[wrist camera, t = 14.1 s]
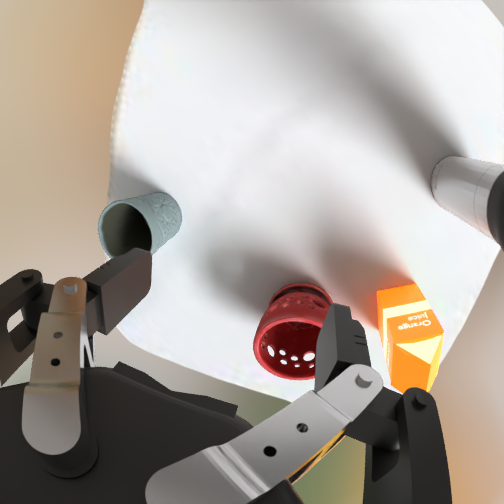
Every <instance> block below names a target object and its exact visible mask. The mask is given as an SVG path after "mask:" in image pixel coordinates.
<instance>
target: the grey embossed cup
mask: <svg viewBox="0 0 504 504" xmlns="http://www.w3.org/2000/svg"><path fill="white" fill-rule="evenodd" d="M181 222H182V213H181V210H180V207H179V205H178V203H177V202H176V201H175V200H174V199H173V198H172V197H171V196H170V195H168V194H165V193H152V194H149V195H145V196H140V197H135V198H128V199H124V200H119V201H115V202H113V203H111V204H110V205H108V206H107V207H106V208H105V209H104V210H103V212H102V213H101V216H100V218H99V223H98V232H99V233H98V234H99V239H100V242H101V245H102V247H103V249H104V250H105V252H106V253H107V255H108V256H109V257H110V258H111V259H112V258H114V257H117V256H120V255H124V254H126V253H127V252H129V251H130V250H132V249H134V248H139V249H142V250H145V251H149V252H151V254H152V255H153V254H154V253H155V252H156V251H157V250H158V249H159V248H160V247H161V246H162V245H164V244H165V243H166V242H167V241H168V240H169V239H170V238H172V237H173V236H174V235H175V234H176V233H177V232H178V231H179V229H180V226H181Z"/></svg>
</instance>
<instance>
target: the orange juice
mask: <svg viewBox="0 0 504 504" xmlns="http://www.w3.org/2000/svg"><path fill="white" fill-rule="evenodd" d="M377 303H378V324H379V334H380V337H381V341H382V345H383V349H384V354H385V358H386V361H387V366H388V370H389V375H390V379H391V385H392V386H393V387H394V388H396V389H397V390H399V391H400V392H402V393H403V394H404V392H405V391H406V390H407V389H408V388H411V387H418V388H421V389H424V390H426V391H427V392H429V390H430V388H431V386H432V384H433V381H434V379H435V376H437V371H438V367H439V362H440V356H441V350H442V343H443V336H444V330H443V329H442V327H441V325H440V323H439V321H438V320H437V318H436V316H435V314H434V313H433V311H432V308H431V307H430V305H429V303H428V302H427V300H426V299H425V297H424V296H423V294H422V292H421V291H420V289H419V287H418V286H417V284H416V283H415V284H410V285H405V286H400V287H395V288H390V289H385V290H380V291H377Z"/></svg>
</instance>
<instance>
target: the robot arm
mask: <svg viewBox="0 0 504 504" xmlns="http://www.w3.org/2000/svg"><path fill="white" fill-rule="evenodd" d="M431 187H432V193H433V195H434V198H435V200H436V201H437V203H438V204H439V205H440V206H441V207H442V208H444V209H445V210H447V211H448V212H450V213H452V214H453V215H455V216H457V217H458V218H460V219H461V220H463V221H465V222H466V223H468V224H469V225H471V226H473V227H474V228H476V229H477V230H479V231H480V232H482V233H483V234H485V235H486V236H488V237H490V238H491V239H492V240H494V241H495V242H497V243H498V244H499V245H500V246H501V248H502V250H503V251H504V165H501V164H496V163H491V162H486V161H481V160H476V159H470V158H464V157H458V156H449V157H446V158H444V159H442V160H441V161H440V162H439V163H438V164H437V165H436V167H435V169H434V171H433V174H432V179H431ZM151 271H152V254H151V252H149V251H145V250H142V249H139V248H134V249H132V250H130V251H129V252H127V253H126V254H124V255H120V256H117V257H114V258H112V259H111V260H109V261H107V262H106V264H103V265H102V266H100V268H97V269H96V270H94V271H93V272H91V273H90V274H88V275H87V276H85V277H84V278H83V279H81V278H77V277H67V278H63V279H61V280H59V281H58V282H57V283H56V284H55V285H52V284H46V283H43V279H42V274H41V272H39V271H38V270H33V269H28V270H24V271H21V272H19V273H17V274H16V275H14V276H13V277H11V278H10V279H8V280H7V281H6V282H4V283H3V284H1V285H0V504H304V503H303V501H302V500H301V498H300V497H299V495H298V493H297V492H296V490H295V489H294V487H293V486H292V484H294V483H295V482H296V481H297V480H299V479H300V478H301V477H302V476H303V475H304V474H306V473H307V472H308V471H309V470H310V469H311V468H312V467H313V466H314V465H315V464H316V463H317V462H319V460H321V459H322V458H323V457H324V456H325V455H326V454H327V453H328V452H329V451H331V450H332V449H333V448H334V446H336V445H337V444H338V443H339V442H340V441H341V440H342V439H343V438H344V437H345V436H346V435H347V436H349V437H351V438H354V439H356V440H359V441H361V442H364V443H366V455H365V479H364V493H363V504H452V495H451V485H450V477H449V469H448V462H447V456H446V450H445V444H444V439H443V433H442V428H441V424H440V419H439V416H438V410H437V406H436V402H435V400H434V398H433V397H432V396H431V395H430V394H429V393H428V392H427V391H426V390H424V389H421V388H418V387H411V388H408V389H407V390H406V391H405V392H404V394H403V395H402V394H399V393H397V392H394V391H392V390H389V389H387V388H385V387H384V386H383V380H382V377H381V376H380V374H379V373H378V372H377V371H376V370H374V369H373V368H371V362H370V356H369V351H368V346H367V340H366V335H365V330H364V328H363V327H362V325H361V324H360V323H359V321H357V320H353V319H352V317H351V311H350V307H349V306H345V305H341V304H337V303H332V304H331V306H330V308H329V310H328V313H327V316H326V318H325V321H324V323H323V326H322V328H321V331H320V333H319V336H318V340H317V347H316V370H315V388H314V391H313V390H311V391H309V392H307V393H305V394H304V395H303V396H301V397H300V398H298V399H297V400H295V401H294V402H292V403H291V404H290V405H288V406H287V407H285V408H284V409H282V410H280V411H279V412H277V413H276V414H274V415H273V416H271V417H270V418H268V419H266V420H265V421H263V422H262V423H260V424H258V425H257V426H255V427H253V426H252V425H251V424H250V423H248V422H247V421H246V420H244V419H242V418H241V417H239V416H237V415H236V411H237V408H238V406H237V405H234V404H231V403H227V402H224V401H221V400H217V399H214V398H211V397H208V396H202V395H195V394H188V393H182V392H175V391H171V390H169V389H168V388H166V387H165V386H163V385H162V384H160V383H159V382H157V381H156V380H155V379H153V378H152V377H150V376H149V375H147V374H146V373H144V372H142V371H140V370H137V369H135V368H133V367H130V366H128V365H126V364H124V363H121V362H120V361H119V362H118V363H117V364H116V366H115V367H114V368H107V367H96V364H95V345H94V344H95V341H94V333H95V332H96V331H98V332H100V333H102V334H104V335H108V333H109V332H110V331H111V330H112V329H113V328H114V327H115V326H116V325H117V324H118V323H119V322H120V321H121V320H122V319H123V318H124V317H125V316H126V315H127V314H128V313H129V312H130V311H131V310H132V309H133V308H134V307H135V306H136V305H137V304H138V303H139V302H140V301H141V300H142V299H143V298H144V297H145V296H146V295H147V294H148V292H149V290H150V287H151ZM19 309H21V312H22V315H23V319H24V320H23V321H22V322H21V323H20V324H19V325H17V326H16V327H15V328H14V329H13V330H12V331H11V332H9V333H8V330H7V322H8V320H9V318H10V317H11V316H12V315H13V314H15V313H16V312H17V311H18V310H19ZM33 352H34V354H33V361H32V368H31V376H30V382H26V383H21V384H17V385H12V386H7V387H2V388H1V386H2V385H3V384H4V383H5V382H6V381H7V380H8V379H9V378H10V376H11V375H12V374H13V373H14V372H15V371H16V370H17V369H18V368H19V367H20V366H21V365H22V364H23V363H24V362H25V361H26V360H27V358H28V357H29V356H30V355H31V354H32V353H33Z"/></svg>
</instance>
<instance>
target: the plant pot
mask: <svg viewBox="0 0 504 504" xmlns="http://www.w3.org/2000/svg"><path fill="white" fill-rule="evenodd" d="M332 303H333V302H332V300H331V298H330V296H329V295H328V294H327V293H326V292H325V291H324V290H322V289H321V288H319V287H318V286H315V285H312V284H307V283H295V284H290V285H287V286H285V287H283V288H281V289H280V290H278V291H277V292H276V293H275V294H274V296H273V297H272V299H271V301H270V303H269V307H268V309H267V310H266V312H265V314H264V315H263V317H262V319H261V321H260V323H259V326H258V328H257V331H256V334H255V338H254V342H253V350H254V354H255V357H256V359H257V361H258V362H259V363H260V365H261V366H262V367H263V368H264V369H266V370H267V371H268V372H270V373H272V374H274V375H276V376H278V377H281V378H285V379H290V380H308V379H313V378H315V370H316V347H317V340H318V336H319V333H320V331H321V328H322V326H323V323H324V321H325V318H326V316H327V313H328V310H329V308H330V306H331V304H332ZM261 344H262V346H261ZM268 345H269V346H271V347H272V349H273V350H274V357H272V356H271V355H270V354H269V352H268V349H267V347H268ZM280 350H283V351H284V352H285V353H286V355H281V354H280V353H279V351H280ZM307 353H314V354H315V357H314V359H312V360H311V361H305V360H304V359H303V357H304V356H305V355H306V354H307ZM293 356H295V357H297V358H298V360H297V361H294V360H291V357H293ZM280 360H285V361H286V362H287V364H286V365H285V364H282V363H281V362H280ZM295 365H300V367H295ZM311 365H314V367H312V368H309V367H310V366H311Z"/></svg>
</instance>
